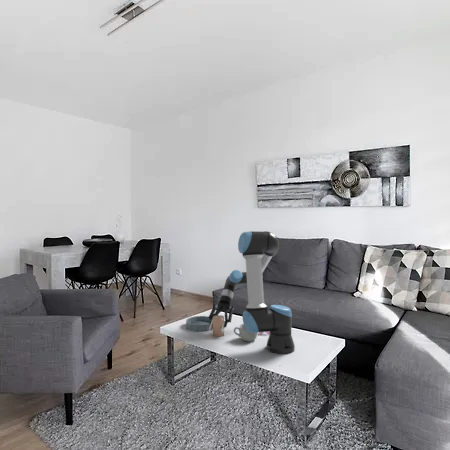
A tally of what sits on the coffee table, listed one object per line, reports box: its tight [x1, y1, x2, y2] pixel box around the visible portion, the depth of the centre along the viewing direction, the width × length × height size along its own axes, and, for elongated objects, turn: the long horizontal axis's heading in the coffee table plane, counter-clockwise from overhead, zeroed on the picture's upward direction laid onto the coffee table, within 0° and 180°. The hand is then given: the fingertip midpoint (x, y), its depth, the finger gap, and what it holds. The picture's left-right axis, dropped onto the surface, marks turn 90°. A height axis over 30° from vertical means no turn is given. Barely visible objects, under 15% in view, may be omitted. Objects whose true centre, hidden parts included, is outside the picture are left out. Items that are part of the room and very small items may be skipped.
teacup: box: [233, 323, 258, 342], centre depth 200 cm, size 14×11×8 cm
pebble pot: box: [212, 314, 225, 338], centre depth 208 cm, size 7×7×12 cm
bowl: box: [185, 315, 213, 332], centre depth 224 cm, size 19×19×4 cm
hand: (216, 330), depth 205 cm, fingers closed on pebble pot, 7 cm apart
